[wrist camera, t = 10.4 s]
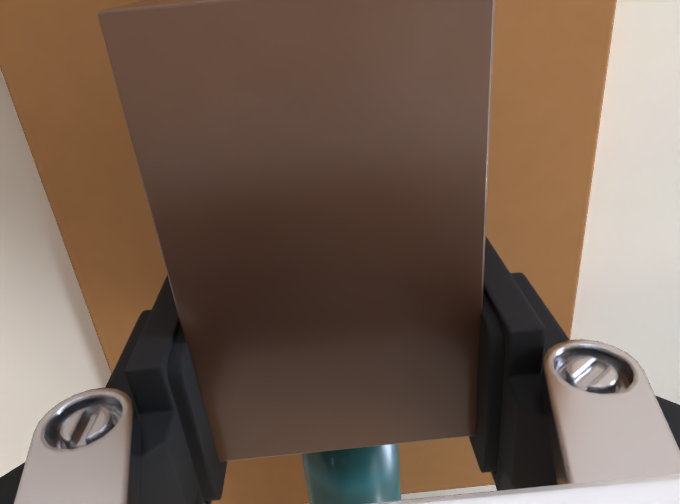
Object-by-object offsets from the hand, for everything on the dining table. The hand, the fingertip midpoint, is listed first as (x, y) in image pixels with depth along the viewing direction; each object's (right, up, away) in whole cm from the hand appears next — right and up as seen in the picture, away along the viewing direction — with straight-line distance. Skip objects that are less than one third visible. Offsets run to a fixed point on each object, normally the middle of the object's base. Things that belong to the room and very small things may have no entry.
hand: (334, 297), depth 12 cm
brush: (0, -3, +2) cm, 4 cm away
